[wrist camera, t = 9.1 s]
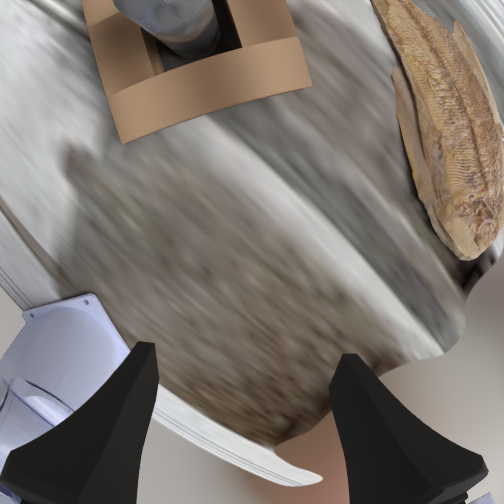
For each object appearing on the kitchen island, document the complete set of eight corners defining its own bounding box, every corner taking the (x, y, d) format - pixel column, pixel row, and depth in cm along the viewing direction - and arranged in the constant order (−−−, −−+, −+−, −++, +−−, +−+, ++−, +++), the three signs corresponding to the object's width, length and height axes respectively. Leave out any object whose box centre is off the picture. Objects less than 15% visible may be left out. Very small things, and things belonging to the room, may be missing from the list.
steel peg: (176, 65, 15) (121, 34, 7) (163, 24, 14) (104, -31, 6) (226, 49, 15) (213, 0, 7) (212, 7, 14) (190, -64, 6)
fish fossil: (297, -37, 12) (301, -45, 11) (405, -58, 11) (412, -63, 10) (447, 274, 22) (454, 280, 21) (517, 216, 21) (525, 220, 20)
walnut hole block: (139, 138, 17) (122, 144, 14) (100, 4, 13) (79, -8, 10) (301, 89, 16) (312, 86, 13) (254, -47, 12) (257, -69, 9)
